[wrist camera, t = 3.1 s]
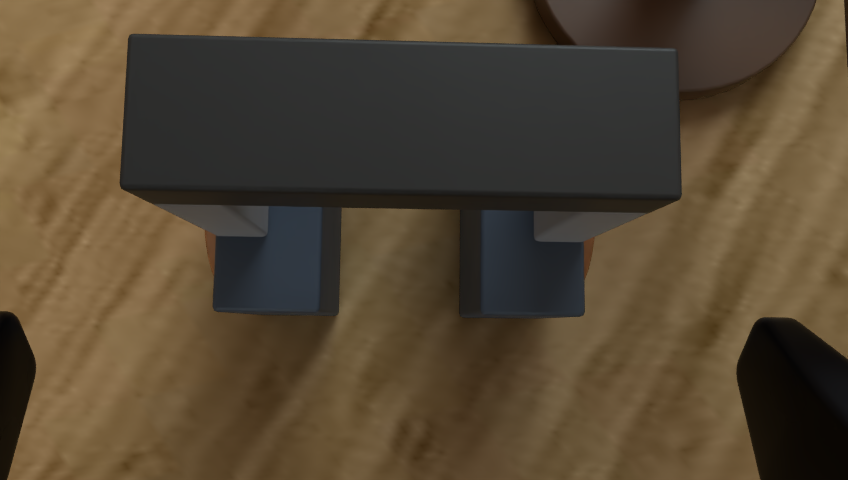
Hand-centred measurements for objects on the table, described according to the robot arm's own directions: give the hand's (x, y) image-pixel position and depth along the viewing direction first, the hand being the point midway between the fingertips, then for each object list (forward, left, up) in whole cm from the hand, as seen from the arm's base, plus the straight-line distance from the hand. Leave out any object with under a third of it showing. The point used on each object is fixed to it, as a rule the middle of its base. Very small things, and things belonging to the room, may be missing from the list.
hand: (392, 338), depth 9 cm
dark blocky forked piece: (+2, -2, -10) cm, 10 cm away
